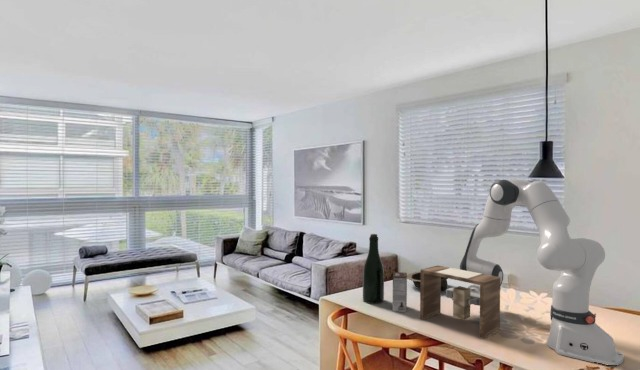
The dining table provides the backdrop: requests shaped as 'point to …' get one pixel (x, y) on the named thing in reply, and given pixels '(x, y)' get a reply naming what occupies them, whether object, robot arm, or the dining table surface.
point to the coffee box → (399, 291)
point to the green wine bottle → (373, 274)
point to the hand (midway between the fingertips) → (460, 300)
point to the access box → (488, 283)
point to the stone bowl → (416, 280)
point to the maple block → (461, 302)
